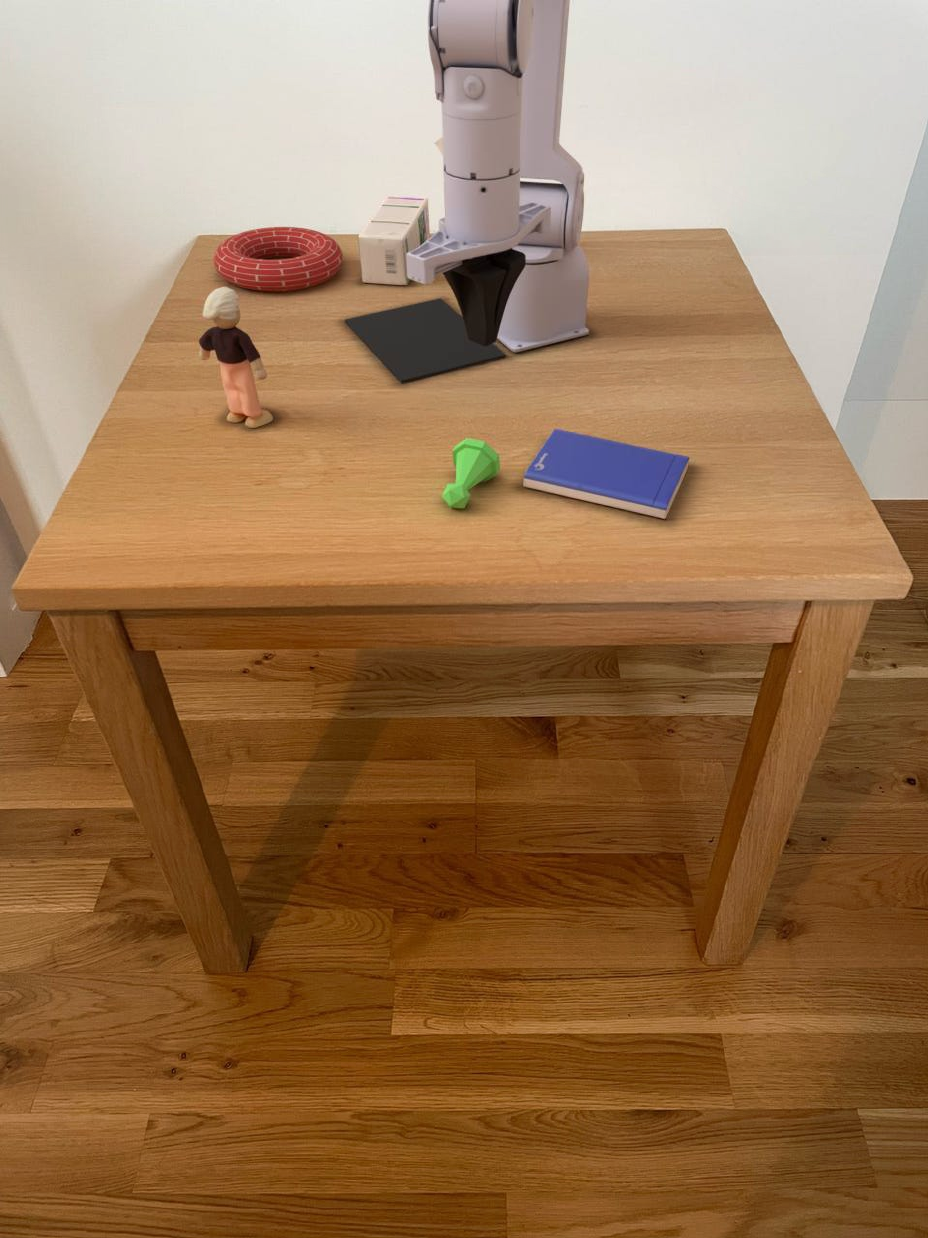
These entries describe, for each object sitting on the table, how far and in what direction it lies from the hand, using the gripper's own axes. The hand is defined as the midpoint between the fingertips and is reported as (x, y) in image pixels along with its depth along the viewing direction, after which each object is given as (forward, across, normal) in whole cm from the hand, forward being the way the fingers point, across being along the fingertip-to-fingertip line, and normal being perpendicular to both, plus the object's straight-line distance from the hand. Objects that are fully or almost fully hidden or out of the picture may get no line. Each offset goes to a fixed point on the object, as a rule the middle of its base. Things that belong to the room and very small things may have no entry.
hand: (482, 340), depth 77 cm
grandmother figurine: (+10, +12, -20) cm, 26 cm away
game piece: (+8, +4, +3) cm, 10 cm away
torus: (+10, -13, -46) cm, 48 cm away
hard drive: (+10, -3, +12) cm, 16 cm away
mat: (+10, -11, -19) cm, 25 cm away
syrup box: (+7, -18, -33) cm, 38 cm away
